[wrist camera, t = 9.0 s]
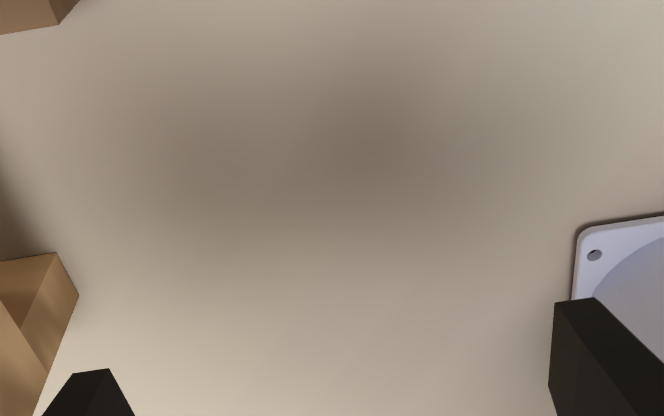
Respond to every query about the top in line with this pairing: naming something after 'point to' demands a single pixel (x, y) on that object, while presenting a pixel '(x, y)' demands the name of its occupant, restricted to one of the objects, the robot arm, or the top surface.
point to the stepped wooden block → (32, 14)
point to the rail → (31, 327)
